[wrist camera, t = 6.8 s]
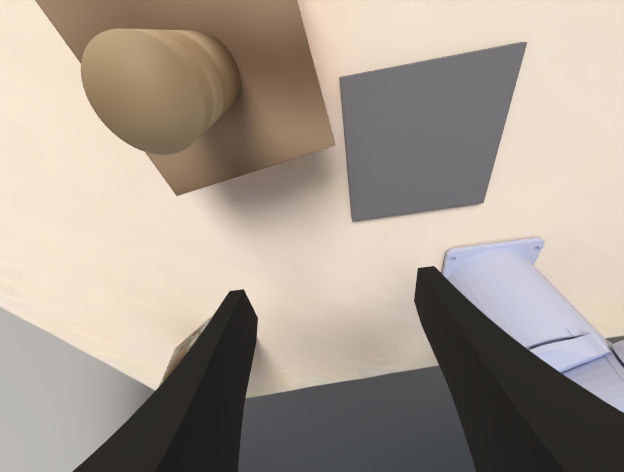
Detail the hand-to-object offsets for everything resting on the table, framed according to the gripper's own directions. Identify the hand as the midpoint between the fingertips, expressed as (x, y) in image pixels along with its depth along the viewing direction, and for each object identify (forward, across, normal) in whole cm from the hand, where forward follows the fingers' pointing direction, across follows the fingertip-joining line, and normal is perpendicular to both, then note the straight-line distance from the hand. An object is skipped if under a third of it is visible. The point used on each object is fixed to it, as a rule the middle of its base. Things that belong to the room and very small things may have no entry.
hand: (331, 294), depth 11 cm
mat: (+10, -7, -2) cm, 13 cm away
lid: (+6, +4, -8) cm, 11 cm away
